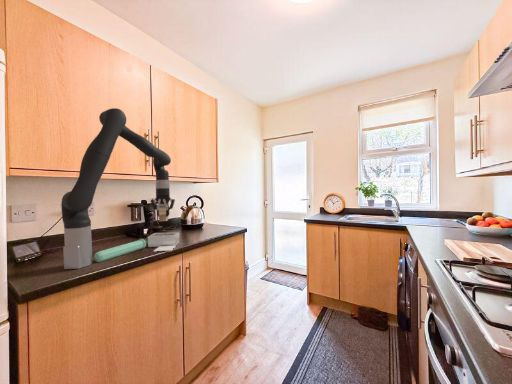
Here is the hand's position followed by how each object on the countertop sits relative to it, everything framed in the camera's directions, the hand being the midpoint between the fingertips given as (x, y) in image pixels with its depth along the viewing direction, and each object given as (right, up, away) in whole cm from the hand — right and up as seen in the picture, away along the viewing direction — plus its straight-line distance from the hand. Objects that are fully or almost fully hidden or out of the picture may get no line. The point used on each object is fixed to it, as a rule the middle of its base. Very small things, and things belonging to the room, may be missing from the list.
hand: (163, 216), depth 130 cm
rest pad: (+5, -17, -10) cm, 20 cm away
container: (-14, -18, -18) cm, 29 cm away
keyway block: (0, -17, 0) cm, 17 cm away
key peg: (0, -3, +1) cm, 3 cm away
